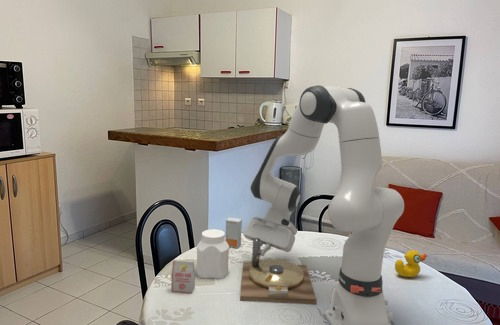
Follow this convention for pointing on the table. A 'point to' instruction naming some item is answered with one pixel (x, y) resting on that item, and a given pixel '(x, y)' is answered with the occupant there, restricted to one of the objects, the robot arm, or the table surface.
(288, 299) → the wooden wheel stand
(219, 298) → the table surface
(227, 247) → the jar
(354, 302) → the robot arm
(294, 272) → the crank wheel
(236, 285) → the table surface
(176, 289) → the small printed food carton
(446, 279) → the table surface
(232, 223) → the skincare box
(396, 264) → the duckling
